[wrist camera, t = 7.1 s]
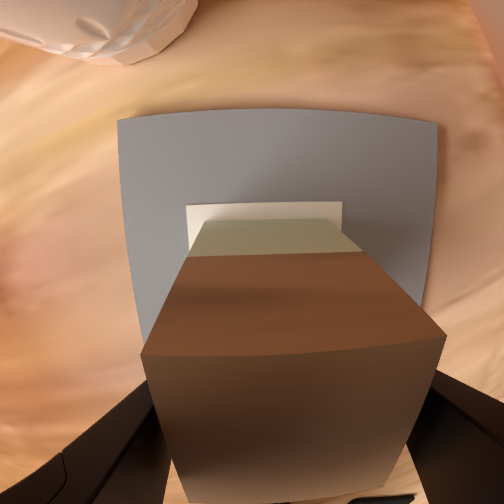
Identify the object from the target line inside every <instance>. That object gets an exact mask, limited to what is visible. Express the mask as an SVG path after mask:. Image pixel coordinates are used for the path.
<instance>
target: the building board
mask: <svg viewBox="0 0 504 504" xmlns="http://www.w3.org/2000/svg"><path fill="white" fill-rule="evenodd" d="M117 128H118V154H119V171H120V185H121V197H122V208H123V218H124V227H125V235H126V243H127V251H128V258H129V265H130V271H131V278H132V284H133V290H134V296H135V301H136V307H137V312H138V317H139V322H140V327H141V332H142V337H143V342H144V345H145V343H146V341H147V339H148V336H149V334H150V332H151V330H152V328H153V325H154V323H155V321H156V319H157V317H158V315H159V313H160V310H161V308H162V306H163V304H164V302H165V300H166V298H167V296H168V294H169V292H170V289H171V287H172V285H173V283H174V281H175V279H176V277H177V275H178V273H179V271H180V269H181V267H182V265H183V263H184V261H185V259H186V257H187V255H188V253H189V251H190V249H191V247H192V245H193V243H194V241H195V239H196V237H197V235H198V233H199V231H200V229H201V227H202V225H203V223H204V222H205V221H233V220H268V219H323V218H326V219H327V220H329V221H330V222H331V223H332V224H333V225H334V226H335V227H337V228H338V229H339V230H340V231H341V232H342V233H343V234H345V235H346V236H347V237H348V238H349V239H350V240H351V241H352V242H354V243H355V244H356V245H357V246H358V247H359V248H360V249H361V250H362V251H365V252H366V253H367V254H368V255H369V256H370V257H371V258H372V259H373V260H374V261H375V262H376V263H377V264H378V265H379V266H380V267H381V268H382V269H383V270H384V271H385V272H386V273H387V274H388V275H389V276H390V277H391V278H392V279H393V280H394V281H395V282H396V283H397V284H398V285H399V286H400V287H401V288H402V289H403V290H404V291H405V292H406V293H407V294H408V295H409V296H410V297H411V298H412V299H413V300H414V301H415V302H416V303H417V304H418V305H419V306H420V307H421V302H422V297H423V292H424V286H425V280H426V275H427V268H428V262H429V255H430V248H431V240H432V231H433V222H434V211H435V199H436V183H437V157H438V124H437V123H434V122H428V121H422V120H416V119H409V118H402V117H395V116H387V115H378V114H368V113H358V112H346V111H331V110H312V109H226V110H206V111H192V112H180V113H169V114H159V115H151V116H142V117H135V118H127V119H121V120H117Z"/></svg>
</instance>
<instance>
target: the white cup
mask: <svg viewBox="0 0 504 504" xmlns="http://www.w3.org/2000/svg"><path fill="white" fill-rule="evenodd" d="M197 7H198V0H0V38H1V39H5V40H9V41H12V42H16V43H19V44H22V45H26V46H29V47H33V48H38V49H42V50H45V51H48V52H51V53H54V54H58V55H63V56H69V57H74V58H77V59H80V60H82V61H85V62H87V63H89V64H92V65H94V66H98V67H99V66H128V65H131V64H133V63H136V62H138V61H141V60H143V59H146V58H148V57H151V56H153V55H156V54H158V53H159V52H160V51H162V50H163V49H164V48H165V47H166V46H167V45H169V44H170V43H171V42H172V41H173V40H174V39H176V38H177V37H178V36H179V35H181V34H182V33H183V32H184V31H185V29H186V27H187V25H188V23H189V21H190V19H191V17H192V16H193V14H194V12H195V10H196V8H197Z"/></svg>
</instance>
